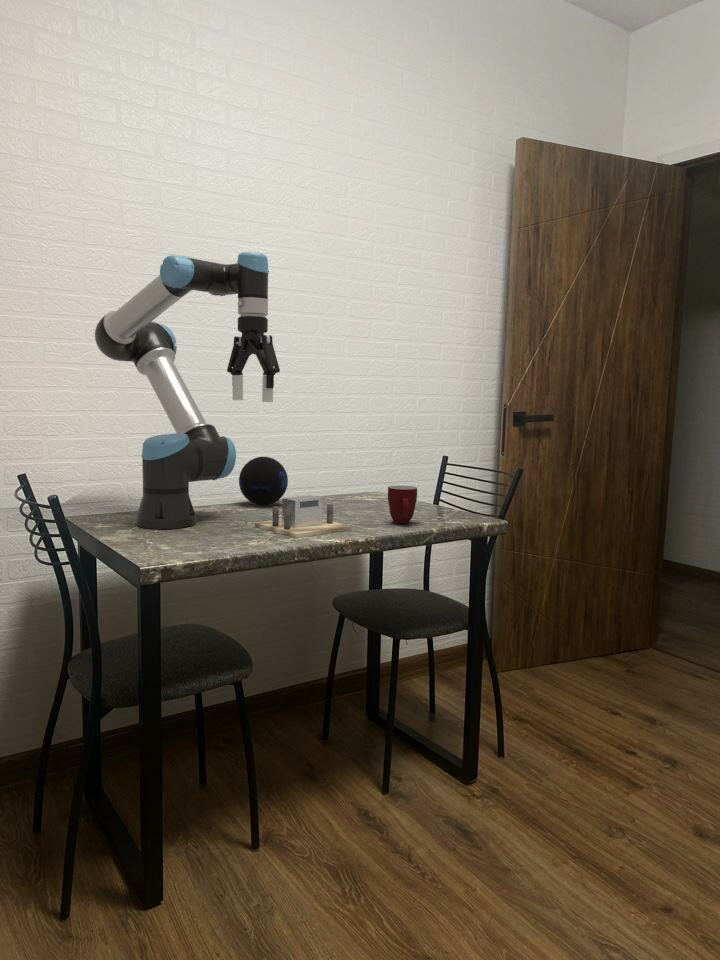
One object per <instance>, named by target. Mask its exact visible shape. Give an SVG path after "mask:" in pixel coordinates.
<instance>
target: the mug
mask: <svg viewBox="0 0 720 960" xmlns="http://www.w3.org/2000/svg"><path fill="white" fill-rule="evenodd" d="M417 497H418V487H416V486H411V485H402V484H401V485H400V484H399V485H389V486H387V502H388V507H389V513H390V516H391V519H392V521H393V523H394V524H396V525H402V524H403V525H409V524H410V522H411V521H412V518H413V516H414V513H415V511H416V510H415V509H416V505H417V500H418V499H417Z"/></svg>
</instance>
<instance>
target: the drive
mask: <svg viewBox="0 0 720 960" xmlns="http://www.w3.org/2000/svg"><path fill="white" fill-rule="evenodd" d="M281 498H282V501H281V502H282V503H281V505H282V506H281V507H282V508H281V509H282V510H281V511H282V512H281V519H282V525H284V509H291V515H290V527H293V528H299V527H306V526H314V525H321V524H322V519H323V517H324V515H323V511H324V510H323V509H324V504H323V503H324V498H323V497H320V496H316V495H311V494H309V495H300V496H298V495H297V496H290V497H281Z"/></svg>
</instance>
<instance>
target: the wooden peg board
mask: <svg viewBox="0 0 720 960" xmlns="http://www.w3.org/2000/svg"><path fill="white" fill-rule="evenodd" d="M290 515H291V509H284V525H282V518H281V519H280V506H277V505H274V506H272V520H268V521H267V520H266V521H259V522H254V527H255V528H258V529H262V530H266V531H269V532H272V533H273V532H274V533H277V534H280V535H284V536H287V535H288V536H287V537H291V536H292V538H294V537H295V539H298V538H299V537H300V538H304V537H305V538H307V537H311V536H312V537H313V536H319V535H326V534H332V533H333V534H334V533H339V532H345V531H352V530H353V529H352V528H353V527H352V525H349V524H344V523H340V522H335V521H334V503H328V504H326V519H323V518H322V524H321V525H314V526H306V527H299V528H293V527H290ZM300 538H299V539H300Z"/></svg>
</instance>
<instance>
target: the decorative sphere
mask: <svg viewBox="0 0 720 960" xmlns="http://www.w3.org/2000/svg"><path fill="white" fill-rule="evenodd" d="M288 483H289V479H288V473H287V471H286V469H285V467H284V466H283V464H282V463H280V461H278V460H276V459H275V458H273V457H269V456H258V457H254V458H252V459H251V460H249V461H247V462H246V463H245V464H244V466H243V467H242V468H241V471H240V473H239V477H238V485H239V486H238V487H239V489H240V492H241V494H242V495H243V497H244V498H245V499H246V500H247V501H249V502H250V503H252V504H254V505H258V506H269V505H273V504H274V503H277V502H278V501H279V500H280V499H281V498H283V496H284V495H285V493H286V491H287V489H288V485H289V484H288Z"/></svg>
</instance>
